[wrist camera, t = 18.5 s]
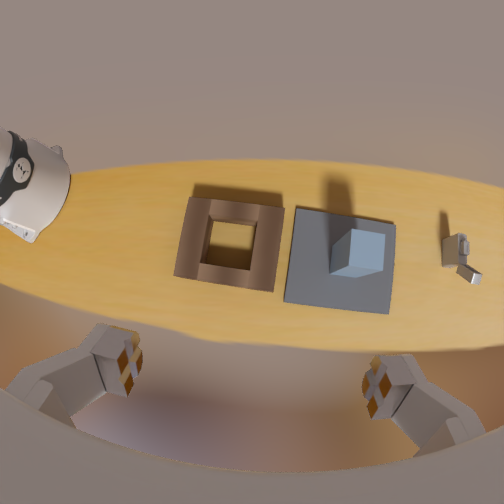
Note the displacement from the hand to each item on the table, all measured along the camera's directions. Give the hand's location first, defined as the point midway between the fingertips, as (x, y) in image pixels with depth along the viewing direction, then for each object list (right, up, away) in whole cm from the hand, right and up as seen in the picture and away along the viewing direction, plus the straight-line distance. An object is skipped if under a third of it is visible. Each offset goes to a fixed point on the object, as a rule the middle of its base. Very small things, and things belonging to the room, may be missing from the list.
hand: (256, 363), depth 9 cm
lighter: (+28, +2, +25) cm, 38 cm away
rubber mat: (+12, +2, +26) cm, 29 cm away
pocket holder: (-3, +4, +27) cm, 28 cm away
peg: (+11, +2, +26) cm, 28 cm away
